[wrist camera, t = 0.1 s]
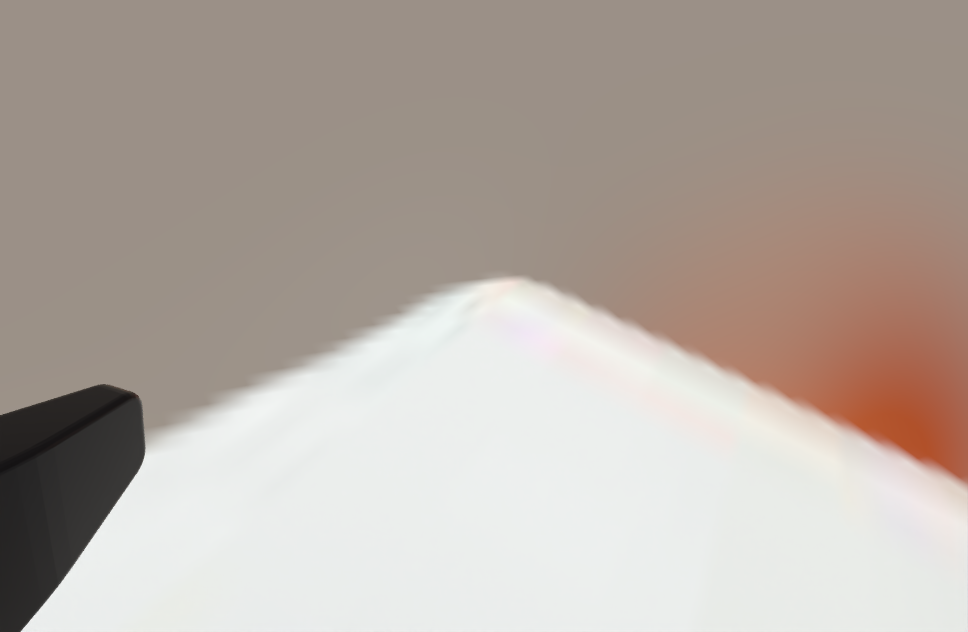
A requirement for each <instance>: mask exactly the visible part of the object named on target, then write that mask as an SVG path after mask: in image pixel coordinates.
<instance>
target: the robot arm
mask: <svg viewBox="0 0 968 632" xmlns="http://www.w3.org/2000/svg"><path fill="white" fill-rule="evenodd" d="M144 456H145V436H144V424H143V410H142V402H141V400H140V398H139V396H138V395H136V394H135V393H133V392H131V391H127V390H124V389H121V388H118V387H114V386H111V385H106V384H102V385H97V386H93V387H90V388H87V389H83V390H80V391H77V392H74V393H70V394H67V395H64V396H61V397H58V398H54V399H51V400H48V401H45V402H41V403H38V404H35V405H32V406H29V407H25V408H22V409H19V410H16V411H13V412H9V413H7V414H3V415H0V632H21V630H22V629H23V628H24V627H25V626H26V625H27V623H28V622H29V621H30V620H31V619H32V617H33V616H34V615H35V614H36V613H37V611H38V610H39V609H40V608H41V607H42V606H43V604H44V603H45V602H46V601H47V599H48V598H49V597H50V596H51V594H52V593H53V592H54V591H55V589H56V588H57V587H58V586H59V584H60V583H61V582H62V580H63V579H64V578H65V576H66V575H67V574H68V572H69V571H70V569H71V568H72V567H73V565H74V564H75V562H76V561H77V559H78V558H79V557H80V555H81V554H82V552H83V551H84V549H85V548H86V546H87V545H88V543H89V542H90V541H91V539H92V538H93V536H94V535H95V533H96V532H97V530H98V529H99V528H100V526H101V525H102V523H103V522H104V520H105V519H106V517H107V516H108V514H109V513H110V512H111V510H112V509H113V507H114V506H115V504H116V503H117V501H118V500H119V498H120V497H121V496H122V494H123V493H124V491H125V490H126V488H127V487H128V485H129V484H130V482H131V481H132V480H133V478H134V477H135V475H136V474H137V472H138V471H139V469H140V467H141V465H142V462H143V459H144Z"/></svg>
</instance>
